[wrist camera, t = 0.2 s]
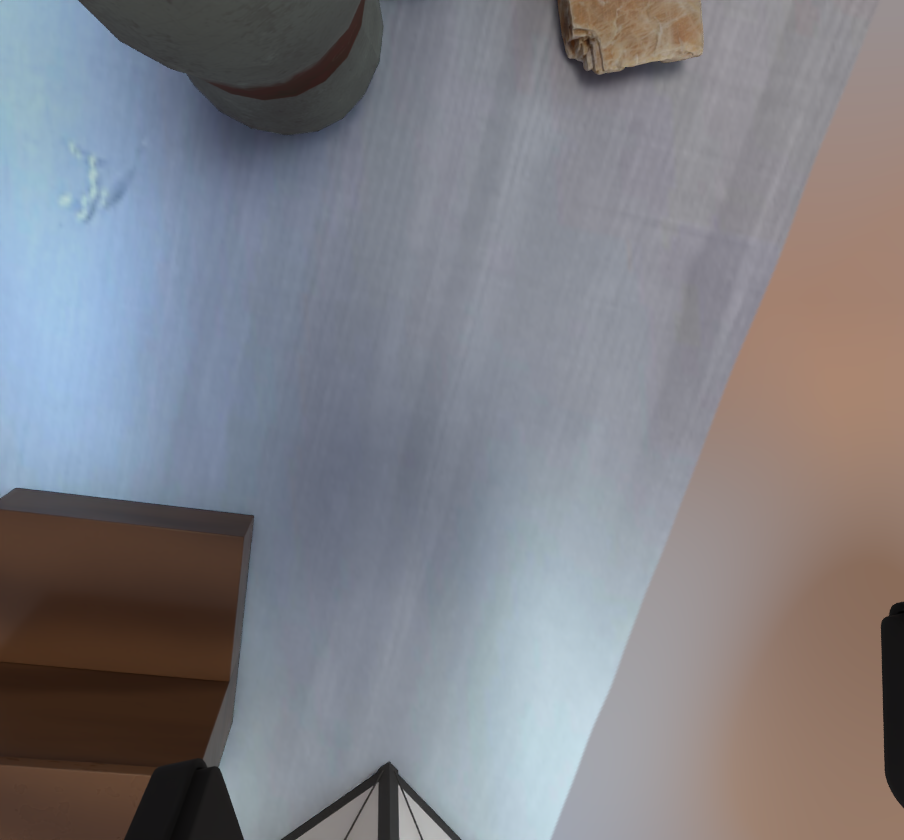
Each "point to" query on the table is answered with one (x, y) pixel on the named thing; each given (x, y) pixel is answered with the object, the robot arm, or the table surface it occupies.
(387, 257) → the table surface
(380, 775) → the lantern
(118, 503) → the wooden display stand
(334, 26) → the vodka
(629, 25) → the stone
